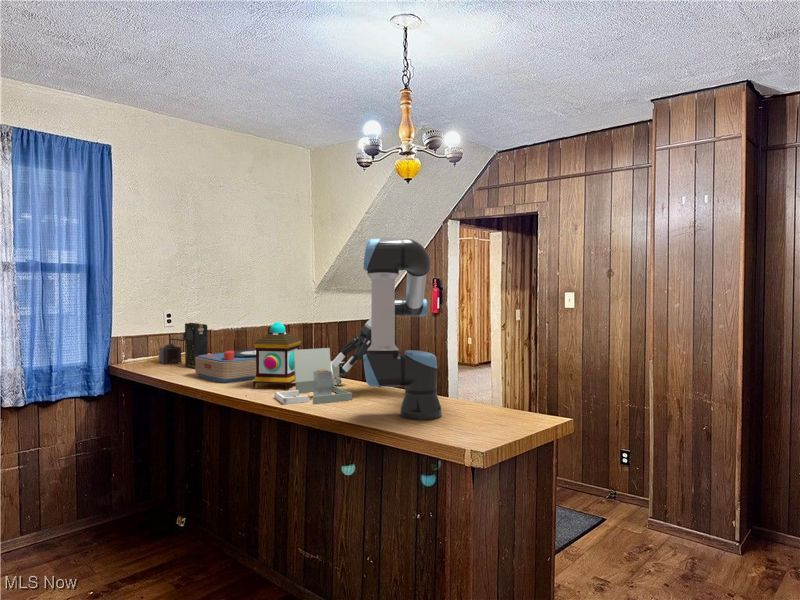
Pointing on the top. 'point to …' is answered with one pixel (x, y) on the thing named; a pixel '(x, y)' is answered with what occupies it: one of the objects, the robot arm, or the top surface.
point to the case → (304, 374)
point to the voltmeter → (195, 342)
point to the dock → (290, 397)
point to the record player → (227, 366)
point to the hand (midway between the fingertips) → (338, 367)
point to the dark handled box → (170, 352)
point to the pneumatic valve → (338, 373)
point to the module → (322, 382)
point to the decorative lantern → (276, 357)
